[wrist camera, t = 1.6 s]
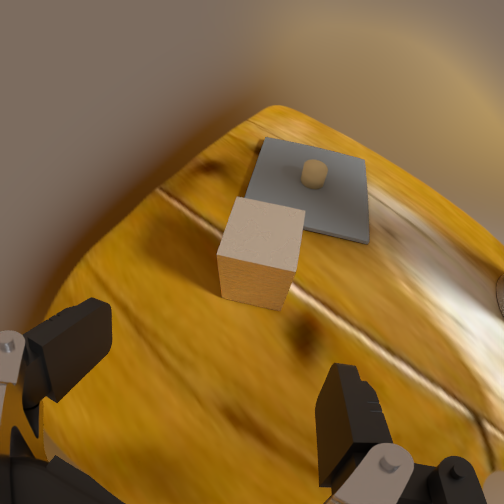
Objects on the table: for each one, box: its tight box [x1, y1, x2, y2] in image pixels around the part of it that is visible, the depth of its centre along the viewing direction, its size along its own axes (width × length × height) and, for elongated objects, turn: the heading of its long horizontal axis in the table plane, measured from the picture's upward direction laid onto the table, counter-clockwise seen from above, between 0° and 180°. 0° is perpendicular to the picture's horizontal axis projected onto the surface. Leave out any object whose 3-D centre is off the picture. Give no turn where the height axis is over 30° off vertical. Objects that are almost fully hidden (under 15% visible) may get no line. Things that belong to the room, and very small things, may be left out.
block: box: [216, 197, 305, 311], centre depth 26 cm, size 6×6×8 cm
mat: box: [244, 137, 369, 244], centre depth 36 cm, size 16×16×3 cm
